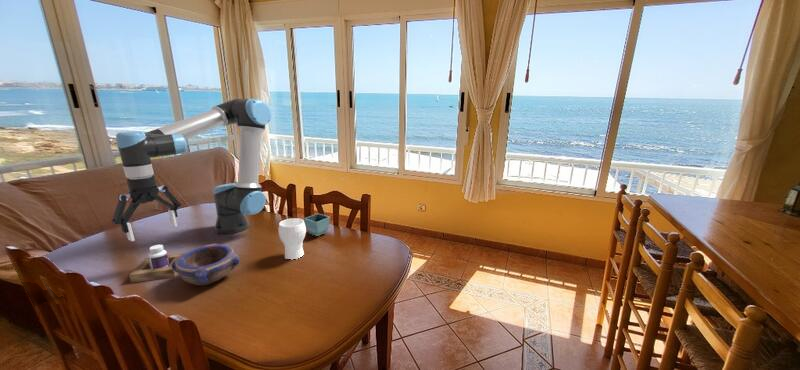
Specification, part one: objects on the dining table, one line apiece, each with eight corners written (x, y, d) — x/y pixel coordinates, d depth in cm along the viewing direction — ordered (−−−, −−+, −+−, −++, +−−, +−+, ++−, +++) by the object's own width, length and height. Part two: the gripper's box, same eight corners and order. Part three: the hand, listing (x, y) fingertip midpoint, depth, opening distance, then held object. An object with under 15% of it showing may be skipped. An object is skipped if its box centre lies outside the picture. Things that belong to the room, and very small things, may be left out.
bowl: (195, 300, 96) (190, 272, 93) (169, 283, 105) (164, 257, 103) (248, 275, 111) (244, 250, 108) (221, 261, 120) (218, 238, 117)
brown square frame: (186, 259, 121) (185, 253, 120) (174, 276, 109) (173, 269, 108) (147, 264, 117) (146, 257, 116) (130, 282, 105) (129, 275, 104)
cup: (312, 255, 126) (310, 222, 122) (288, 264, 118) (285, 229, 114) (299, 247, 133) (297, 215, 129) (276, 255, 125) (273, 222, 121)
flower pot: (331, 233, 147) (330, 216, 145) (317, 240, 140) (316, 222, 138) (318, 229, 152) (317, 213, 150) (304, 235, 145) (303, 218, 143)
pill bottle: (173, 268, 115) (168, 245, 112) (158, 275, 110) (153, 251, 107) (163, 265, 116) (159, 242, 114) (148, 272, 111) (143, 248, 109)
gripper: (173, 168, 116) (184, 219, 122) (87, 184, 94) (105, 244, 100) (185, 170, 113) (195, 222, 119) (98, 187, 91) (116, 249, 97)
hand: (154, 232), depth 109 cm, fingers open, 13 cm apart
